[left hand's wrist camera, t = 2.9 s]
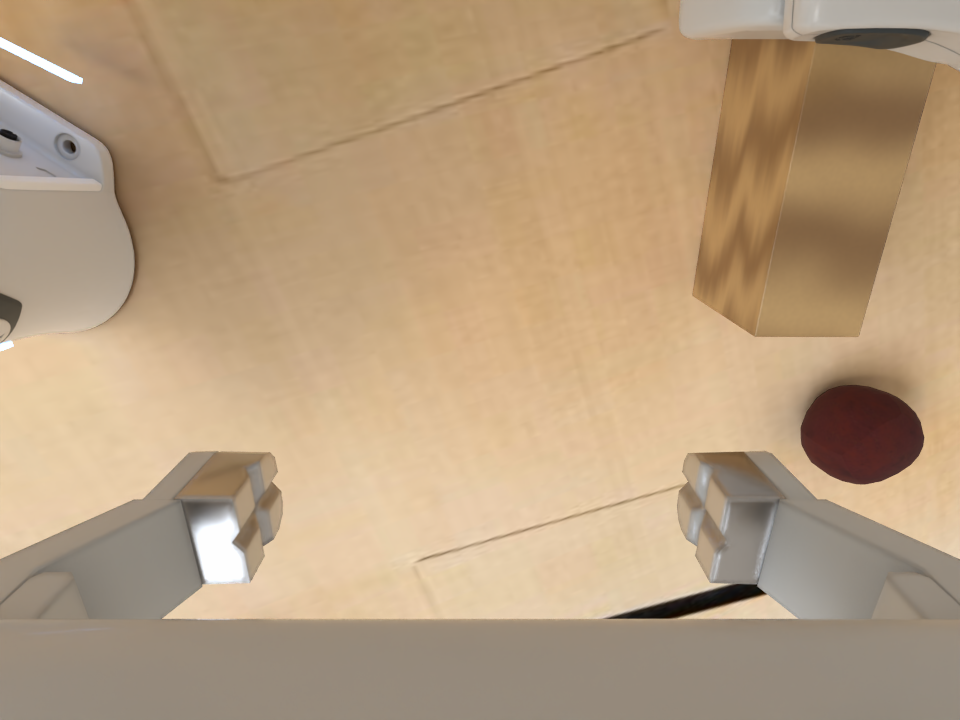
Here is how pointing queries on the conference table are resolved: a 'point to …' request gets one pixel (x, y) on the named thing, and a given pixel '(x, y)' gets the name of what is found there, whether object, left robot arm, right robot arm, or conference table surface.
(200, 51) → the conference table surface
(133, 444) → the conference table surface
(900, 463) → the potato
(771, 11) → the right robot arm
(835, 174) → the box
